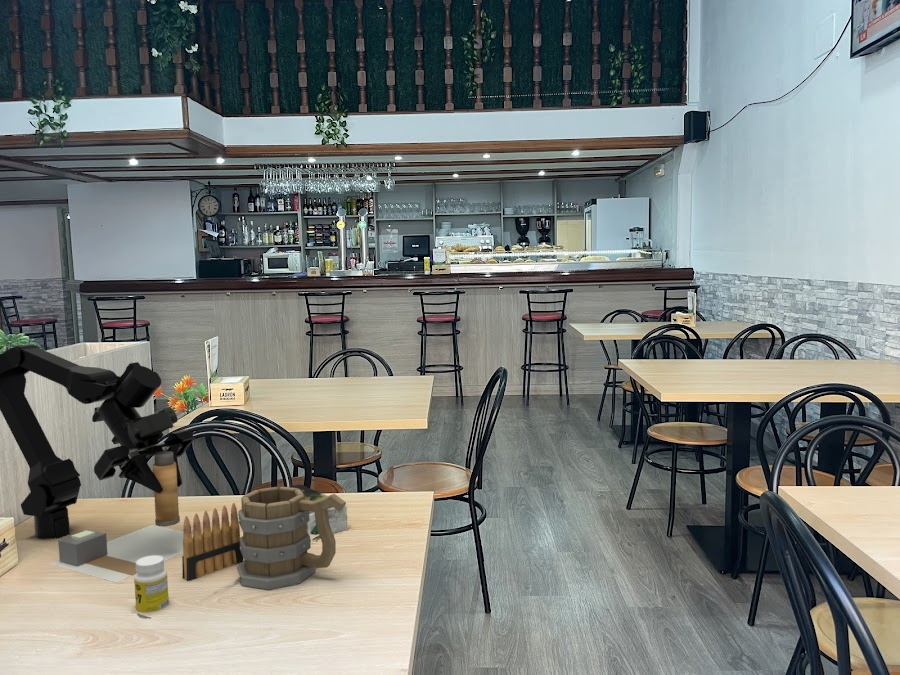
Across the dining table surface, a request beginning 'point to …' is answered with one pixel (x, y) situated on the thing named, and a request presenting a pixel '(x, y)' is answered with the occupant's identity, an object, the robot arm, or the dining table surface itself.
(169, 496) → the tan cylinder
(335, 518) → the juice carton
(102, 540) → the grey cube-like block
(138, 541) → the floor panel
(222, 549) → the ammunition clip
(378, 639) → the dining table surface
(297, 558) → the tankard
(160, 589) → the supplement bottle
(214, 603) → the dining table surface
